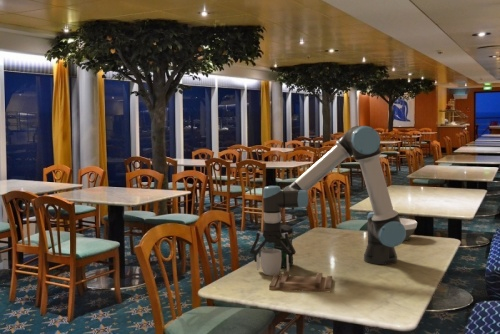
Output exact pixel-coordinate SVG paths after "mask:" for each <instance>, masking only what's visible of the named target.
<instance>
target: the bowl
mask: <svg viewBox="0 0 500 334" xmlns="http://www.w3.org/2000/svg"><path fill="white" fill-rule="evenodd" d="M399 218H400V217H399ZM400 222H401V224H403V226H404V228H405V230H406V237H405V239H404V241H407V240H409V239H410V238H411V237H410V236H412V235H413V234H414V232H415V230H416V229H417V225H418V222H417V221H416V220H415V219H412V218H403V217H401V218H400Z"/></svg>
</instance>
